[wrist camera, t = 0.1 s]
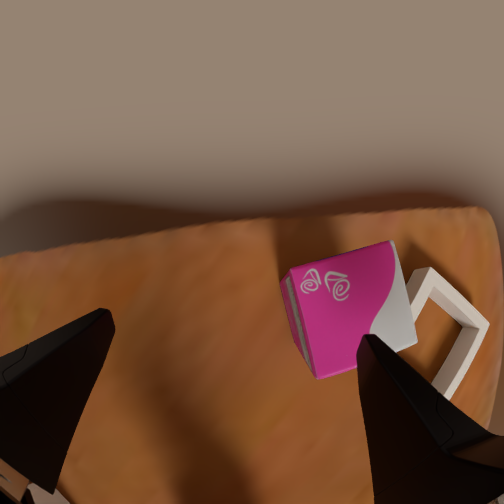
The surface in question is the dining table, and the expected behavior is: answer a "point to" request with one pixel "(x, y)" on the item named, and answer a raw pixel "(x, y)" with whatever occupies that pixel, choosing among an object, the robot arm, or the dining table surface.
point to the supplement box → (347, 306)
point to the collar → (462, 311)
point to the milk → (46, 496)
